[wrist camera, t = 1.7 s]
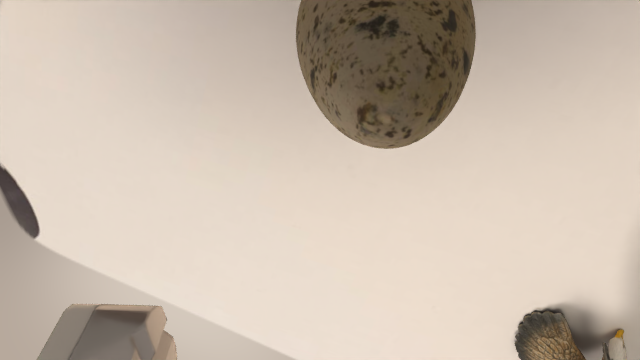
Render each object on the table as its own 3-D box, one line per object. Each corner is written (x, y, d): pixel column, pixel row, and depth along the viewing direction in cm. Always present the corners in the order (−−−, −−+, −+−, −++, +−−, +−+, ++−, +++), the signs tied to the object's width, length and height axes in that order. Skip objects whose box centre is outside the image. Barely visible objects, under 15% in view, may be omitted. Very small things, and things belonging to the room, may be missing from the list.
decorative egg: (396, 86, 25) (411, 242, 17) (279, 13, 23) (233, 146, 15) (490, -30, 22) (564, 94, 14) (362, -124, 20) (360, -47, 12)
